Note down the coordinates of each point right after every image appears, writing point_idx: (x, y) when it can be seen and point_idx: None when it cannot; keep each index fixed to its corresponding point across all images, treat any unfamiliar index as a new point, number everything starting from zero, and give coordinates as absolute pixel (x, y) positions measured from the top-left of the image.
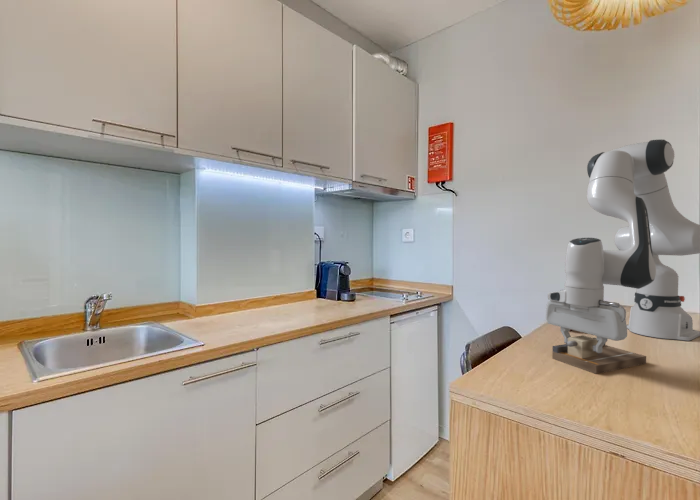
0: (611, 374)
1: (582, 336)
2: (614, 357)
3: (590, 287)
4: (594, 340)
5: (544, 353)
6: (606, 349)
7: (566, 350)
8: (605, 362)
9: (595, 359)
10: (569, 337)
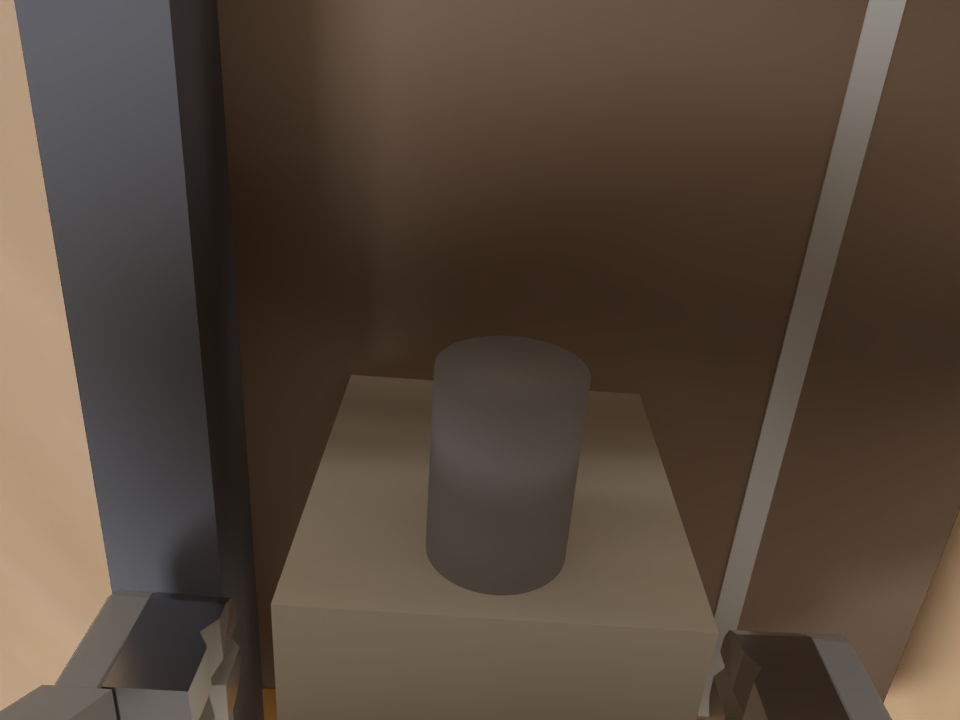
0: (932, 586)
1: (345, 699)
2: (884, 207)
3: None
4: (692, 717)
5: (5, 589)
6: None
7: (251, 623)
8: (874, 597)
9: (724, 601)
10: None
